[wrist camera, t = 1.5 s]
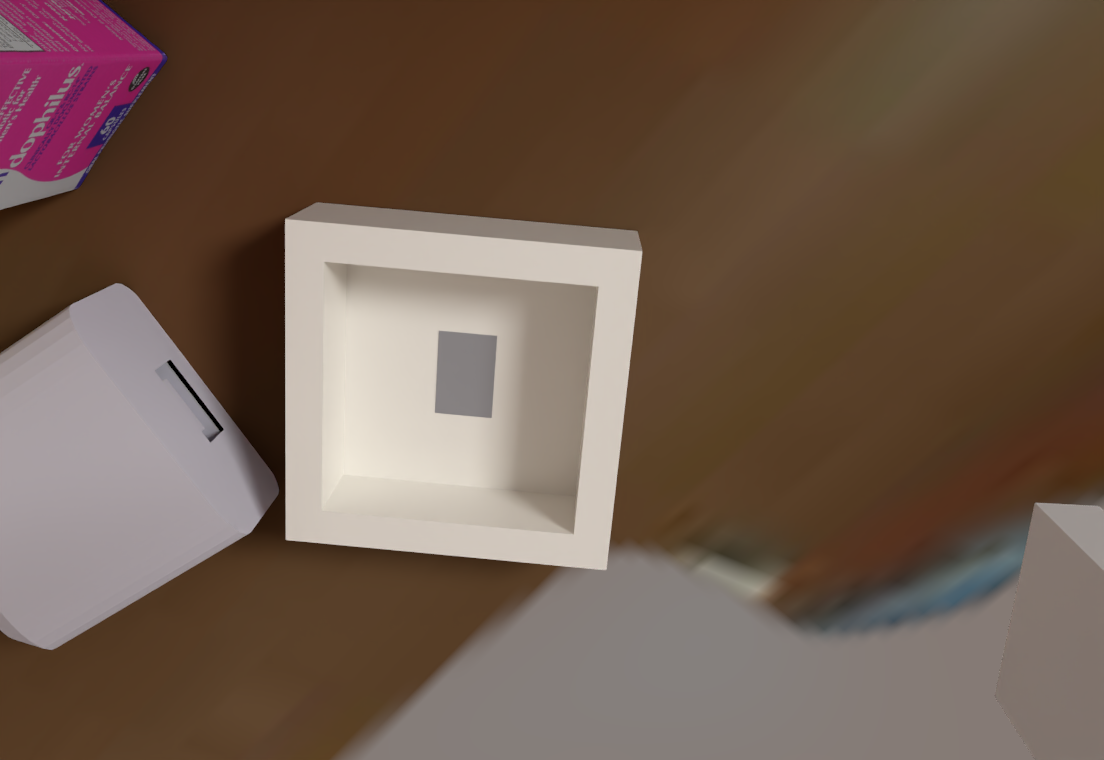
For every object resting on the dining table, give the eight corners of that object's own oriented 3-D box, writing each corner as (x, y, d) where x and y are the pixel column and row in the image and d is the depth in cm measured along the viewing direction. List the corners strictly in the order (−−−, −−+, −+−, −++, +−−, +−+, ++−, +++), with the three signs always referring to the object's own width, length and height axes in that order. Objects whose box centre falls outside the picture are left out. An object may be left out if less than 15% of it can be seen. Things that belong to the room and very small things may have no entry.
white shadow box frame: (316, 202, 33) (284, 219, 30) (637, 231, 33) (642, 251, 30) (314, 495, 37) (285, 540, 33) (605, 522, 36) (606, 570, 33)
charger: (-171, 481, 37) (128, 277, 34) (-9, 661, 40) (286, 484, 37) (-276, 538, 33) (58, 309, 30) (-86, 738, 35) (243, 543, 32)
